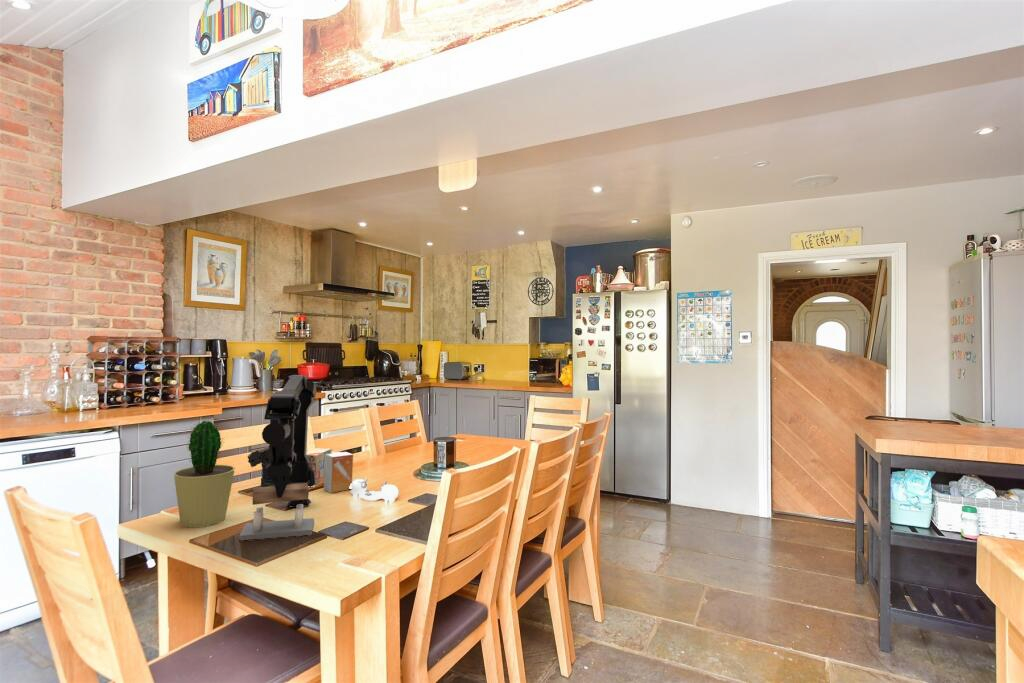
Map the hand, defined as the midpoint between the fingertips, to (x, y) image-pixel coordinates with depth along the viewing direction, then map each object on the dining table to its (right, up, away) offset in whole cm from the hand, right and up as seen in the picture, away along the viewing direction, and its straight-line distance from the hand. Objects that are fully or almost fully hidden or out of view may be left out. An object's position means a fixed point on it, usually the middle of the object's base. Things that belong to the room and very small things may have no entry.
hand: (280, 493), depth 141 cm
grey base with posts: (-1, -11, 0) cm, 11 cm away
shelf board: (0, -1, 0) cm, 1 cm away
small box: (+1, -12, +42) cm, 44 cm away
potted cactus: (-26, -10, +7) cm, 29 cm away
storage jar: (-19, -11, +38) cm, 44 cm away
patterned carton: (-10, -12, +55) cm, 57 cm away
